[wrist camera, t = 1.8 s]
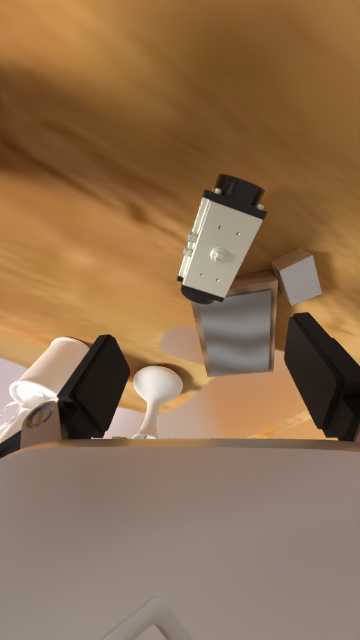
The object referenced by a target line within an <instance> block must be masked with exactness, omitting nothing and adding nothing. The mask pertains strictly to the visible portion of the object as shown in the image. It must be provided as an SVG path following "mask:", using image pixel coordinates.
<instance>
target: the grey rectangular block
mask: <svg viewBox="0 0 360 640" xmlns="http://www.w3.org/2000/svg"><path fill="white" fill-rule="evenodd" d="M271 265H272V268H273V271H274V274H275V276H276V279H277V280H278V285H279V288H280V290H281V293H282V295H283V296H284V297H285V299H286V300H287V301H288V302H289V304H290V305H291V306H293V305H295V304H298V303H300V302H303V301H305V300H308V299H310V298H313V297H315V296H318V295H321V294H322V291H321V287H320V283H319V279H318V275H317V270H316V266H315V262H314V258H313V255H312V254H310V253H308V252H306V251H305V250H303V249H301V248H297V249H295V250H293V251H291V252H289V253H287V254H285V255H283V256H281V257H279V258H277V259H275V260H273V261H271Z"/></svg>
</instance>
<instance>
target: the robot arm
mask: <svg viewBox="0 0 360 640" xmlns="http://www.w3.org/2000/svg"><path fill="white" fill-rule="evenodd" d="M284 360H285V364H286V366H287V368H288V370H289V372H290V374H291V376H292V378H293V380H294V382H295V384H296V386H297V388H298V390H299V392H300V394H301V396H302V398H303V400H304V403H305V405H306V407H307V409H308V411H309V413H310V415H311V417H312V419H313V421H314V423H315V425H316V426H317V428H318V429H322V430H323V432H324V434H325V436H326V438H327V437H329V438H332V437H333V438H334V437H335V438H338V440H339V441H336V440H308V439H91V437H93V438H103V436H104V434H105V431H107V430H108V429H109V427H110V424H111V421H112V419H113V416H114V414H115V411H116V408H117V406H118V403H119V401H120V398H121V396H122V393H123V391H124V388H125V385H126V383H127V380H128V378H129V375H130V368H129V366H128V364H127V362H126V360H125V358H124V356H123V354H122V352H121V350H120V348H119V345H118V343H117V341H116V339H115V338H114V337H113V336H111V335H110V334H108V335H100V336H99V337H98V338H97V339H96V341H95V342H94V344H93V345H92V346H91V348H90V349H89V351H88V352H87V354H86V355H85V356H84V358H83V359H82V361H81V362H80V363H79V365H78V366H77V368H76V369H75V371H74V372H73V373H72V375H71V376H70V378H69V379H68V380H67V382H66V383H65V385H64V386H63V388H62V389H61V390H60V392H59V393H58V395H57V398H58V399H59V400H58V401H57V402H55V401H47V402H44V403H42V404H40V405H38V406H37V407H35V408H34V409H33V410H32V411H31V412H30V413H29V414H28V415H27V416H26V418H25V419H24V421H23V424H22V430H20V431H18V432H17V433H15V434H14V435H12V436H11V437H9V438H8V439H6V440H5V441H3V442H2V443H0V640H360V366H359V365H358V364H357V363H356V361H355V360H354V359H353V358H352V357H351V356H350V355H349V354H348V353H347V352H346V350H345V349H344V348H343V347H342V346H341V345H340V344H339V343H338V342H337V341H336V340H335V339H334V338H331V337H330V336H329V335H328V334H327V333H326V331H325V330H324V329H323V328H322V327H321V326H320V325H319V324H318V322H317V321H316V320H315V319H314V318H313V317H312V316H311V315H310V313H308V312H305V313H296V314H294V315H293V317H290V318H289V324H288V331H287V339H286V347H285V355H284Z"/></svg>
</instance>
